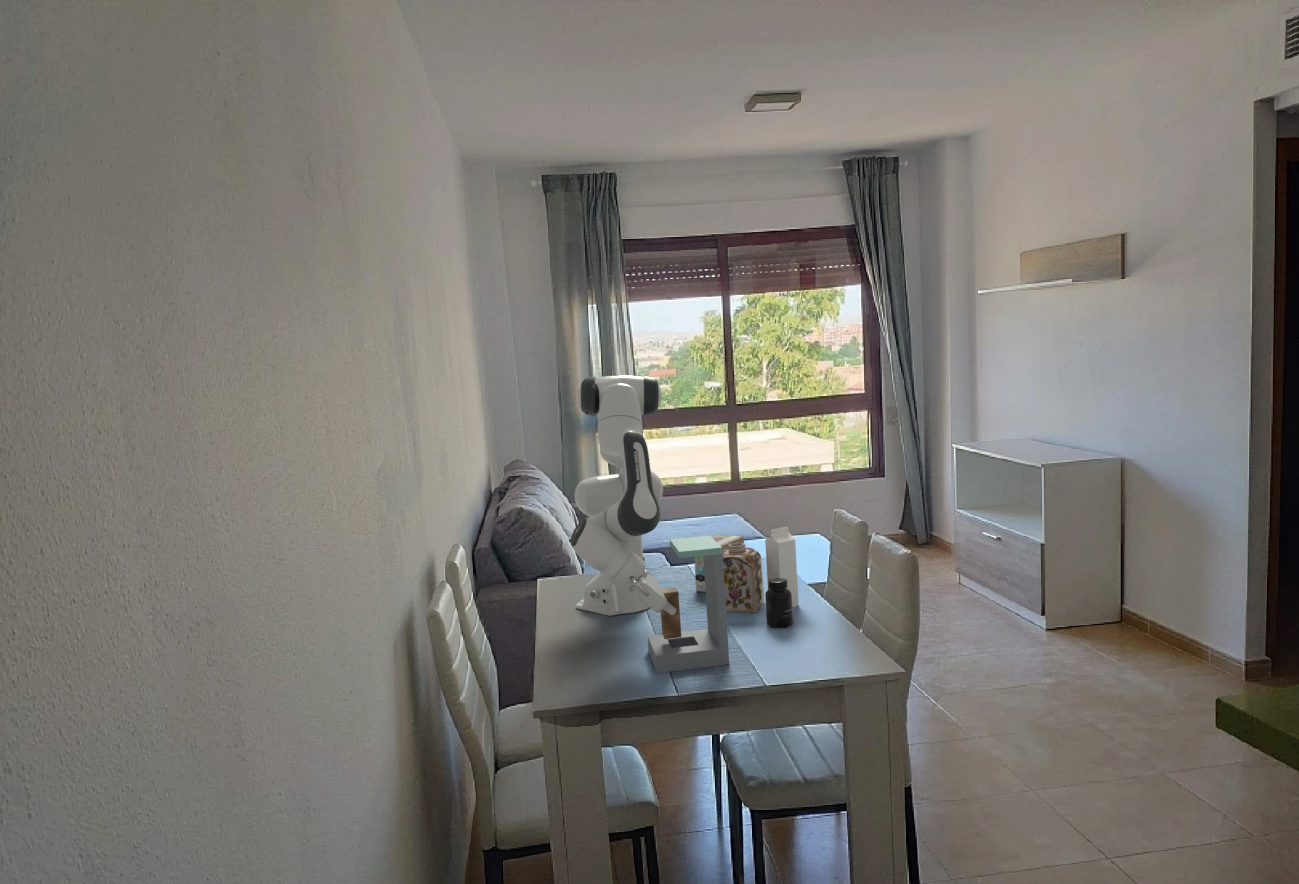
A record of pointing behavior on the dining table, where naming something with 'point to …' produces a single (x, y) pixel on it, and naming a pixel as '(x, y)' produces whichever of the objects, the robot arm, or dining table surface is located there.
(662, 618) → the walnut peg
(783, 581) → the supplement bottle
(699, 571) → the tea box
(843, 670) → the dining table surface
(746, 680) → the dining table surface
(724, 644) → the socket stand
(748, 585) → the decorative jar
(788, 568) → the milk
